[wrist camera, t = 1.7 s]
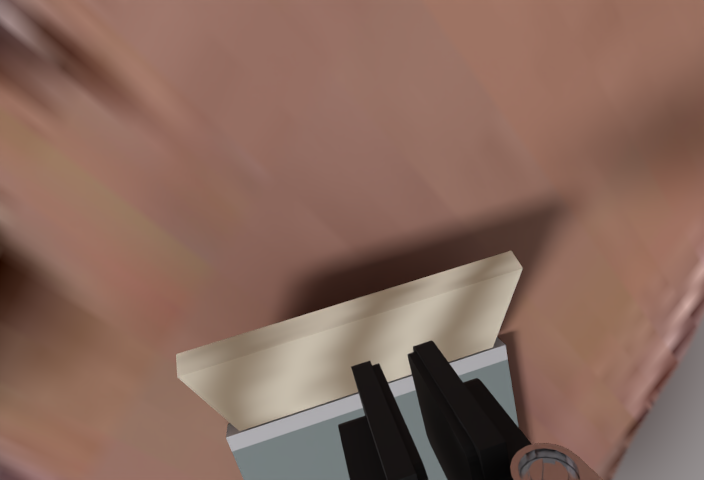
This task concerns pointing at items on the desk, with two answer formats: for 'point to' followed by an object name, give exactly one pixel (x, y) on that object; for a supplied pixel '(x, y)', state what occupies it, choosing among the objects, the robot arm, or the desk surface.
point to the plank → (350, 342)
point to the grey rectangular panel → (322, 420)
